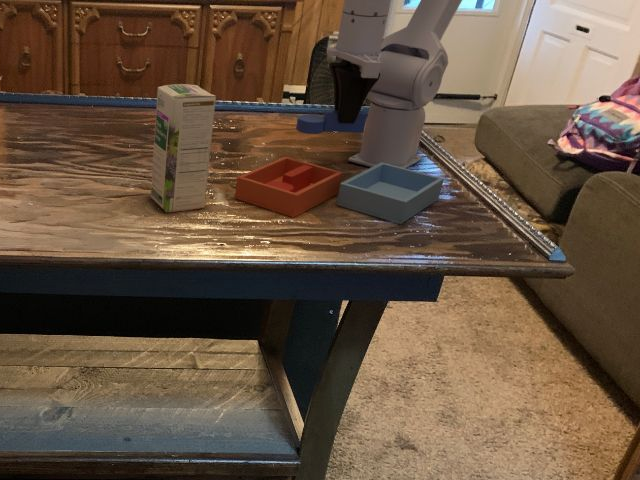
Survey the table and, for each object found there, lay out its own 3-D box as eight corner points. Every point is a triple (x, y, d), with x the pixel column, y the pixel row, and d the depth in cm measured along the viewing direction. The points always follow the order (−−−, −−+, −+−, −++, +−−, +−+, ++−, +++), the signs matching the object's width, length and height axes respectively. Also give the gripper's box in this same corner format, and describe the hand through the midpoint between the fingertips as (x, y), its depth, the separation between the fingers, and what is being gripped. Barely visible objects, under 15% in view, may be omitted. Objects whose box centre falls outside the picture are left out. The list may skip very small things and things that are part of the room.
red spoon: (282, 205, 100) (285, 186, 98) (257, 197, 102) (260, 178, 100) (317, 187, 106) (320, 169, 104) (293, 180, 108) (296, 162, 106)
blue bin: (376, 182, 109) (381, 161, 108) (438, 199, 105) (444, 178, 103) (336, 204, 102) (340, 183, 100) (400, 224, 97) (406, 202, 95)
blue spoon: (298, 133, 104) (301, 114, 103) (293, 125, 107) (296, 106, 106) (365, 135, 104) (369, 116, 103) (358, 127, 107) (362, 108, 106)
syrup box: (149, 197, 102) (154, 85, 93) (188, 193, 104) (197, 82, 95) (165, 213, 97) (172, 96, 89) (207, 208, 99) (217, 93, 91)
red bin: (282, 176, 110) (285, 156, 108) (339, 193, 105) (343, 172, 104) (234, 198, 103) (237, 177, 101) (293, 217, 98) (297, 195, 96)
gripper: (321, 2, 103) (305, 105, 111) (348, 22, 91) (328, 135, 99) (372, 4, 103) (352, 106, 111) (406, 24, 91) (381, 137, 99)
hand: (344, 120), depth 105 cm, fingers closed on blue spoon
